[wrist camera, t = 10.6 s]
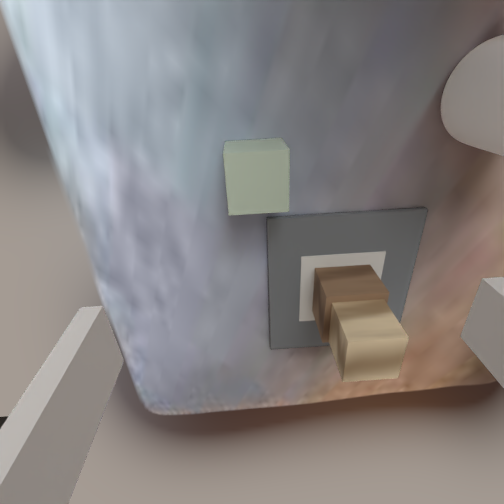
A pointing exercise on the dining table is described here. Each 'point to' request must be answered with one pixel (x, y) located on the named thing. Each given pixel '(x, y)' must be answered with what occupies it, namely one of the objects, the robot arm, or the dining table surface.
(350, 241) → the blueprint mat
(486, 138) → the cup
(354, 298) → the walnut base block
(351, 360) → the maple block
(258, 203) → the sage block
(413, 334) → the dining table surface
